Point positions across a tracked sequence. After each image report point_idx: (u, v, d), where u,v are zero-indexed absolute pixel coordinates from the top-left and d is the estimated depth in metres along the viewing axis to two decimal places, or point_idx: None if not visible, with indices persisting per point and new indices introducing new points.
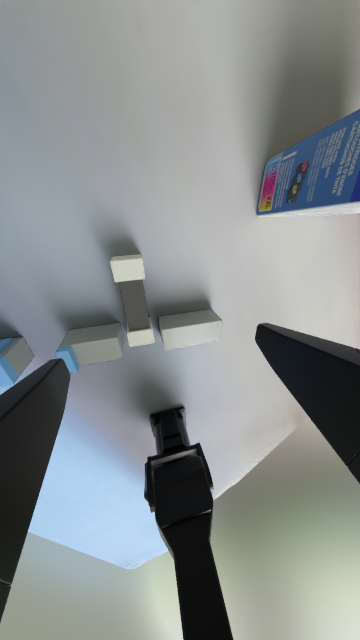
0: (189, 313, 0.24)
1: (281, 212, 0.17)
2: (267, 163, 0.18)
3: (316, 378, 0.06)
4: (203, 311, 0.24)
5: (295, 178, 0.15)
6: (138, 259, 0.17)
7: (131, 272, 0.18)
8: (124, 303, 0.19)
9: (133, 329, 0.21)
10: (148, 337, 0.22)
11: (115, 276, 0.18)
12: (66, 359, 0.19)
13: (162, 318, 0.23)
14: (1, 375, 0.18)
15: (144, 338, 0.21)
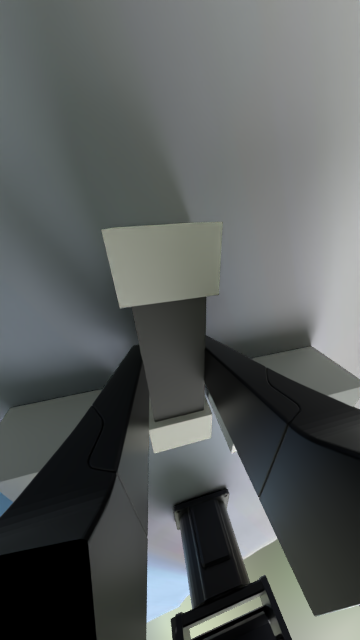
0: (272, 358, 0.12)
1: None
2: None
3: (230, 399, 0.06)
4: (299, 353, 0.12)
5: None
6: (207, 226, 0.05)
7: (178, 274, 0.05)
8: (146, 363, 0.07)
9: (165, 418, 0.08)
10: (199, 430, 0.09)
11: (122, 288, 0.05)
12: None
13: None
14: None
15: (189, 433, 0.09)
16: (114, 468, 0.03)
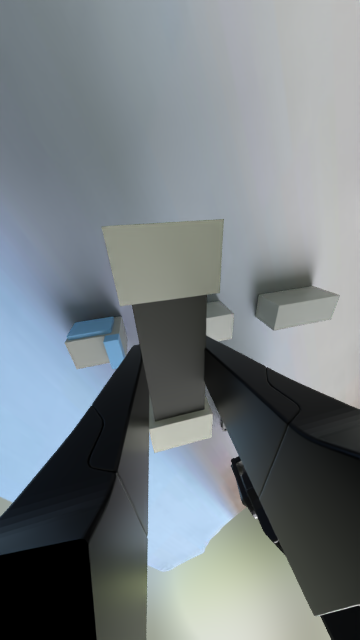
0: (291, 290, 0.22)
1: None
2: None
3: (230, 399, 0.06)
4: (306, 288, 0.22)
5: None
6: (208, 223, 0.05)
7: (179, 272, 0.05)
8: (147, 362, 0.07)
9: (165, 417, 0.08)
10: (199, 430, 0.09)
11: (122, 286, 0.05)
12: None
13: (266, 296, 0.21)
14: (116, 356, 0.16)
15: (190, 433, 0.09)
16: (114, 468, 0.03)
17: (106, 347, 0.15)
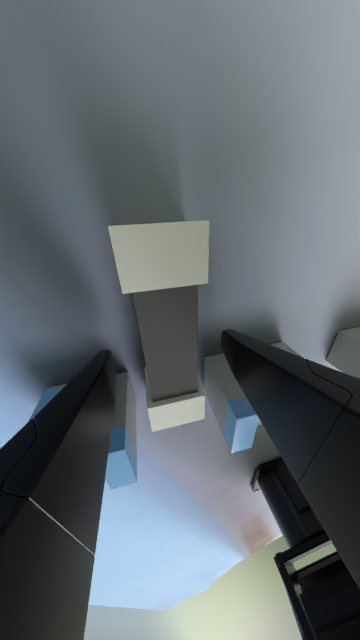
0: None
1: None
2: None
3: (268, 390, 0.06)
4: None
5: None
6: (197, 223, 0.06)
7: (172, 264, 0.06)
8: (145, 346, 0.07)
9: (162, 398, 0.09)
10: (193, 411, 0.10)
11: (124, 276, 0.06)
12: (248, 429, 0.09)
13: (354, 334, 0.13)
14: (120, 471, 0.08)
15: (184, 413, 0.10)
16: (29, 491, 0.03)
17: None
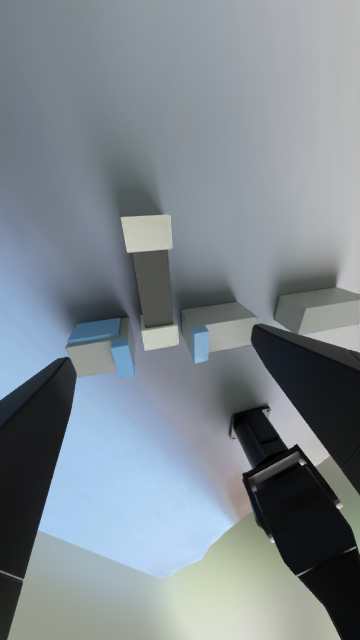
0: (315, 291, 0.20)
1: None
2: None
3: (310, 380, 0.06)
4: (330, 289, 0.20)
5: None
6: (164, 216, 0.11)
7: (152, 237, 0.12)
8: (139, 287, 0.13)
9: (150, 326, 0.15)
10: (171, 337, 0.15)
11: (128, 243, 0.11)
12: (203, 344, 0.14)
13: (288, 297, 0.19)
14: (125, 363, 0.14)
15: (165, 338, 0.15)
16: None
17: (114, 354, 0.13)
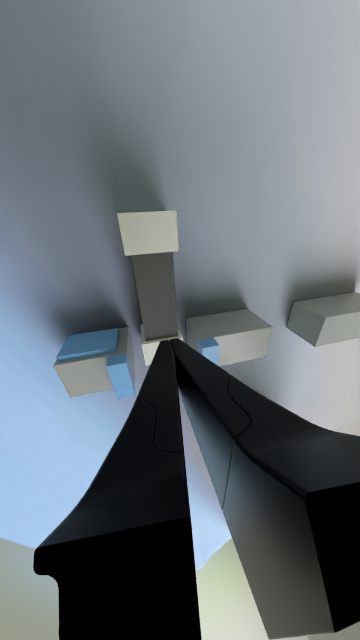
0: (332, 297, 0.18)
1: None
2: None
3: (195, 407, 0.06)
4: (348, 295, 0.18)
5: None
6: (169, 212, 0.09)
7: (155, 237, 0.10)
8: (139, 295, 0.11)
9: (152, 338, 0.13)
10: None
11: (126, 244, 0.10)
12: (212, 359, 0.13)
13: (304, 303, 0.17)
14: (123, 382, 0.12)
15: None
16: (179, 450, 0.03)
17: (110, 372, 0.11)
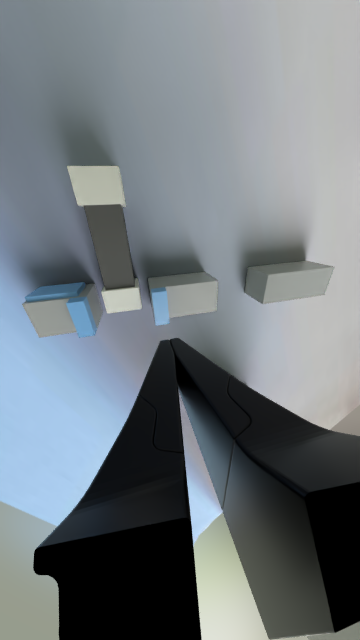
0: (283, 264, 0.20)
1: None
2: None
3: (195, 407, 0.06)
4: (298, 262, 0.20)
5: None
6: (112, 167, 0.11)
7: (102, 190, 0.12)
8: (95, 244, 0.13)
9: (111, 287, 0.15)
10: (132, 300, 0.16)
11: (77, 194, 0.12)
12: (162, 304, 0.15)
13: (255, 267, 0.19)
14: (83, 321, 0.14)
15: (127, 301, 0.16)
16: (179, 450, 0.03)
17: (70, 310, 0.13)
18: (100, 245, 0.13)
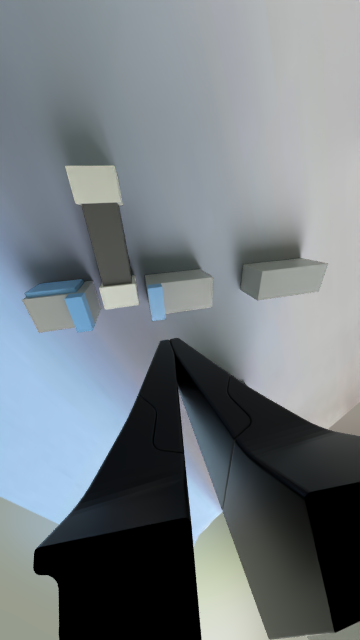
0: (278, 261, 0.21)
1: None
2: None
3: (195, 407, 0.06)
4: (293, 259, 0.21)
5: None
6: (108, 167, 0.12)
7: (99, 188, 0.12)
8: (93, 242, 0.14)
9: (108, 283, 0.15)
10: (129, 296, 0.16)
11: (75, 193, 0.12)
12: (158, 300, 0.15)
13: (250, 265, 0.20)
14: (81, 316, 0.14)
15: (124, 297, 0.16)
16: (179, 450, 0.03)
17: (68, 305, 0.14)
18: (97, 242, 0.14)
